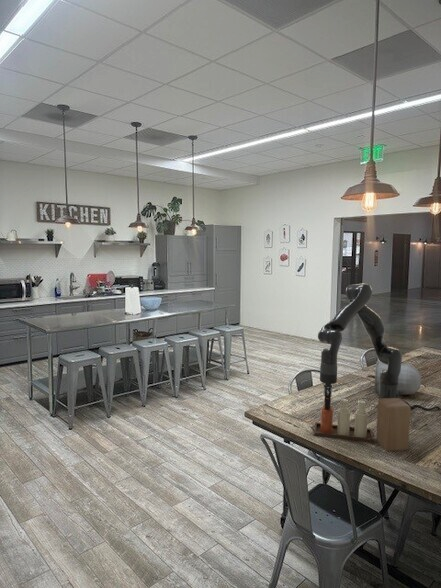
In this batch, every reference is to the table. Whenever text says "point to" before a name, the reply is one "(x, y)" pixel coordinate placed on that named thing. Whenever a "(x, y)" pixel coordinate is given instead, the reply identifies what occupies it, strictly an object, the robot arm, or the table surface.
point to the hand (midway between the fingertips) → (327, 407)
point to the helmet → (400, 378)
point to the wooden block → (393, 424)
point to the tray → (350, 437)
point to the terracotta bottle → (326, 419)
